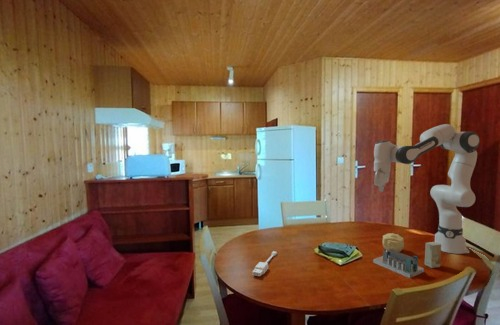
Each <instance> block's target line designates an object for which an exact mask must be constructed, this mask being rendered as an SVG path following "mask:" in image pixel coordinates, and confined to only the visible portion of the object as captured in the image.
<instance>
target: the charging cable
mask: <svg viewBox="0 0 500 325" xmlns="http://www.w3.org/2000/svg"><path fill="white" fill-rule="evenodd" d="M270 254H271V255H270V256H269V257H268V258H267V260H265V261H264V262H262V261H259V262H258V263H257V264H256V265H255V266H254V269H253V270H252V271H251V272H252V274H251V275H253V276H257V277H261V276H262V275H264V274H265V273H266V272H267V271H268V269H269V262H270V261H271V260H272V258H273V257H276V256H277V255H278V252H277V251H274V250H273V251H272V252H271V253H270Z"/></svg>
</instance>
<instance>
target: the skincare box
mask: <svg viewBox="0 0 500 325" xmlns="http://www.w3.org/2000/svg"><path fill="white" fill-rule="evenodd" d="M441 260H442V251H441V244H439V243H436V242H435V241H432V242H431V241H429V242H425V249H424V265H425V266H427V267H429V268H431V269H434V268H440V267H441Z"/></svg>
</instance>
